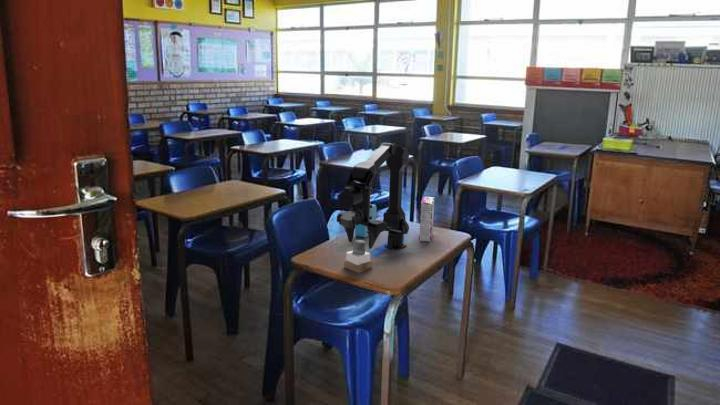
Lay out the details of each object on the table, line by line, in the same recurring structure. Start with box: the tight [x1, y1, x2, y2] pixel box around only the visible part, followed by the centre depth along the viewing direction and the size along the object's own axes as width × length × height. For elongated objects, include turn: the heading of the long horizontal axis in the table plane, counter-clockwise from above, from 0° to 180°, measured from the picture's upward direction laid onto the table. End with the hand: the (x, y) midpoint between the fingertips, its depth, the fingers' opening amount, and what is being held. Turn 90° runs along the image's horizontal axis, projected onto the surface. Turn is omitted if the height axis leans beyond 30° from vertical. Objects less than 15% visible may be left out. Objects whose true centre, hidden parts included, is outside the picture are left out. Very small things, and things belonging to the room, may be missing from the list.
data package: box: [354, 203, 377, 239], centre depth 224 cm, size 12×4×12 cm, turn 156°
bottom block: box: [343, 259, 373, 274], centre depth 188 cm, size 7×7×3 cm
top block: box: [345, 250, 371, 265], centre depth 187 cm, size 6×6×3 cm
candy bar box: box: [418, 196, 435, 243], centre depth 221 cm, size 11×5×16 cm, turn 168°
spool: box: [352, 239, 367, 255], centre depth 187 cm, size 4×4×4 cm
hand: (360, 245), depth 186 cm, fingers open, 9 cm apart
